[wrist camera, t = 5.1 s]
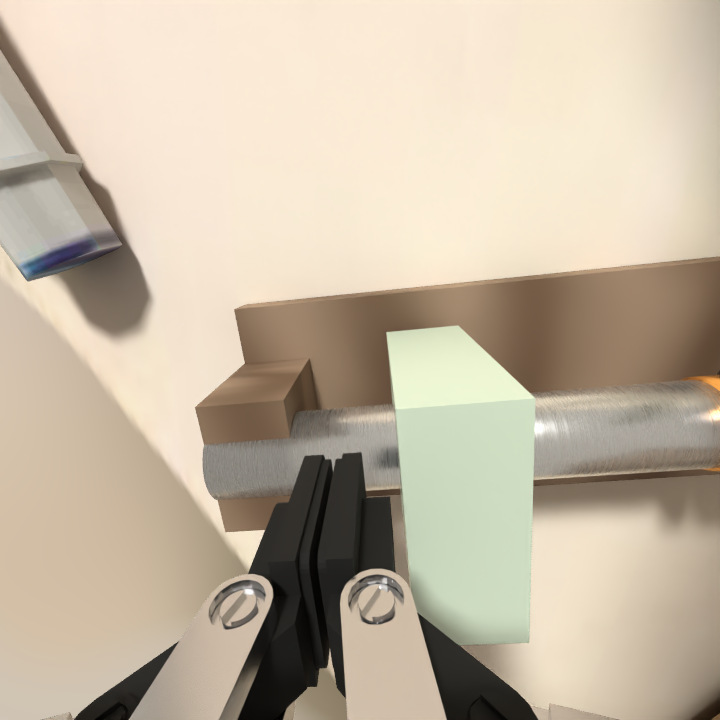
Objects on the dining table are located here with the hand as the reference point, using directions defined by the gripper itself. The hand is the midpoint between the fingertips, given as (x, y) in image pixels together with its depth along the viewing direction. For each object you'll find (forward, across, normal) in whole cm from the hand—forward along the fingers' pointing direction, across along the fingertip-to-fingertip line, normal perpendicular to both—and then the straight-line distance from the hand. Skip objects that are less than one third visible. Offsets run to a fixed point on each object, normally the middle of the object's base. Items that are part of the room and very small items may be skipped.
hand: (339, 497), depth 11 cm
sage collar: (+6, -3, 0) cm, 7 cm away
